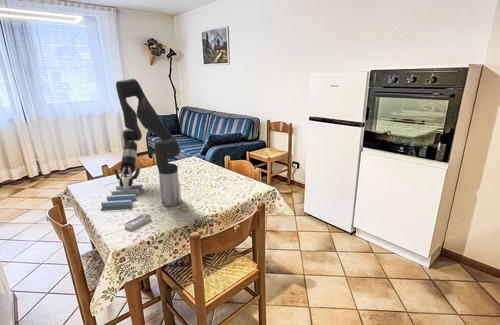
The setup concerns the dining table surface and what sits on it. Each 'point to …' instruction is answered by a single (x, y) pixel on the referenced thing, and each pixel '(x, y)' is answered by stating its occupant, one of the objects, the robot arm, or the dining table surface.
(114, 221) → the dining table surface
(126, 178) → the white bottle with cap
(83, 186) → the dining table surface
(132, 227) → the multiport hub
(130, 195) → the grey blue ridged block
